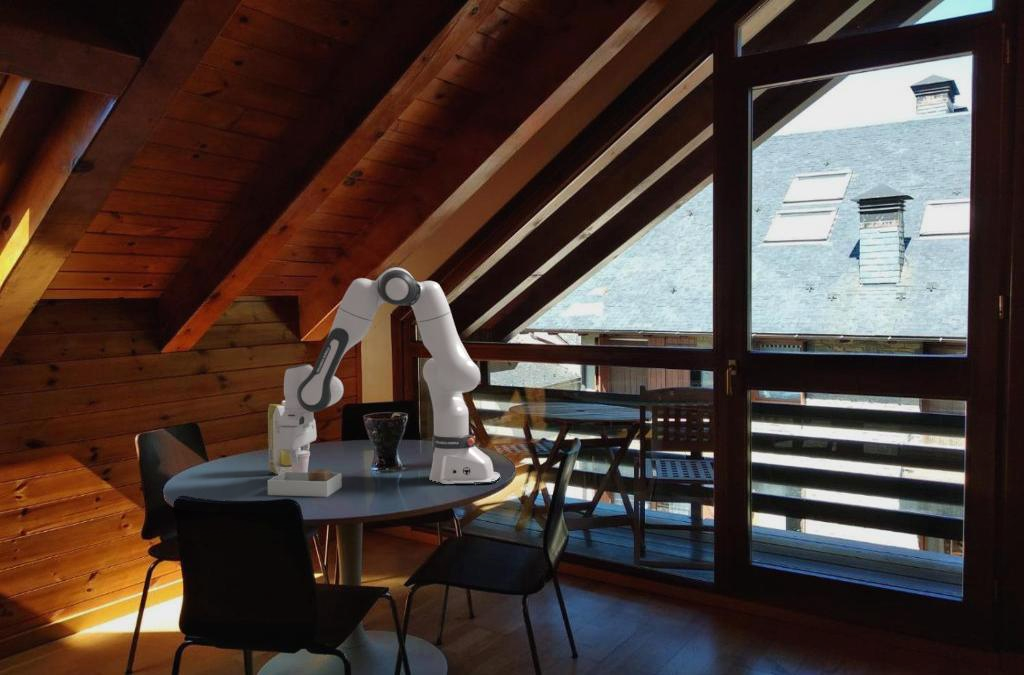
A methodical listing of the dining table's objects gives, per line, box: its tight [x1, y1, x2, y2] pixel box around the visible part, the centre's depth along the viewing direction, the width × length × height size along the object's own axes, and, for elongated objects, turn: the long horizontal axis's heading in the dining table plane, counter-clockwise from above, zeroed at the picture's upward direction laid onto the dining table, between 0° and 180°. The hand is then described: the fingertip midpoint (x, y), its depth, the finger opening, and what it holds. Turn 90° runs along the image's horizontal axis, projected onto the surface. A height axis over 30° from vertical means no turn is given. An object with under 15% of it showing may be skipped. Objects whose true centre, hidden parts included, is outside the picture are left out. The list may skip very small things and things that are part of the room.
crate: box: [267, 471, 343, 498], centre depth 242 cm, size 18×12×5 cm, turn 82°
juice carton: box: [267, 399, 302, 475], centre depth 271 cm, size 9×8×24 cm
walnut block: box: [308, 468, 332, 482], centre depth 242 cm, size 5×5×6 cm
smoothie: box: [289, 448, 311, 472], centre depth 256 cm, size 6×6×14 cm
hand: (299, 460), depth 256 cm, fingers closed on smoothie, 6 cm apart
